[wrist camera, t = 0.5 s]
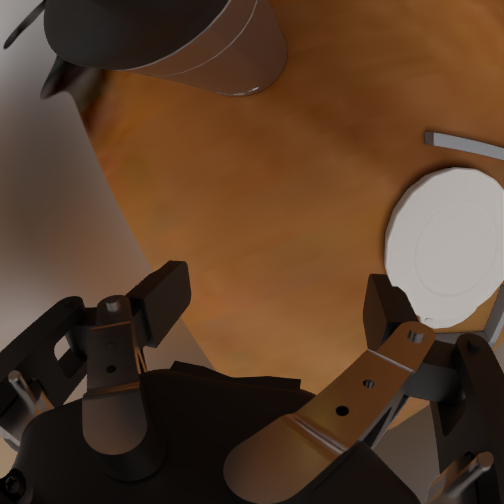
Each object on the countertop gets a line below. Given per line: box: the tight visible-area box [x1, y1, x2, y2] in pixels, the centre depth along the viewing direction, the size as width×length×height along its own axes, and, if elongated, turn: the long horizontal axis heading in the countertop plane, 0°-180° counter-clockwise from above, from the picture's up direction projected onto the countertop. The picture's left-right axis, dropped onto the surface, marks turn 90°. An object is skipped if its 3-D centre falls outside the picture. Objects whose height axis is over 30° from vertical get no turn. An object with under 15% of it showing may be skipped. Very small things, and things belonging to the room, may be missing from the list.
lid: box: [384, 167, 504, 328], centre depth 26 cm, size 17×20×3 cm
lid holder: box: [425, 132, 504, 349], centre depth 25 cm, size 25×16×2 cm, turn 3°
